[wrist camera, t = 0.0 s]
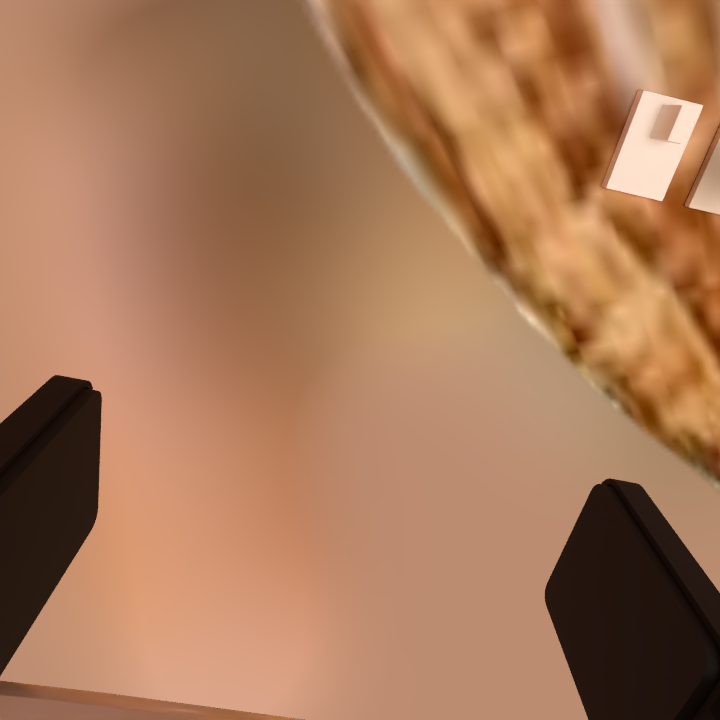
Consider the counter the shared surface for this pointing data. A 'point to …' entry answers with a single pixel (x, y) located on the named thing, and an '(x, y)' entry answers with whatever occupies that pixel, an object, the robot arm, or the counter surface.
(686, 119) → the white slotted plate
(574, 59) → the counter surface
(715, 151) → the jig
